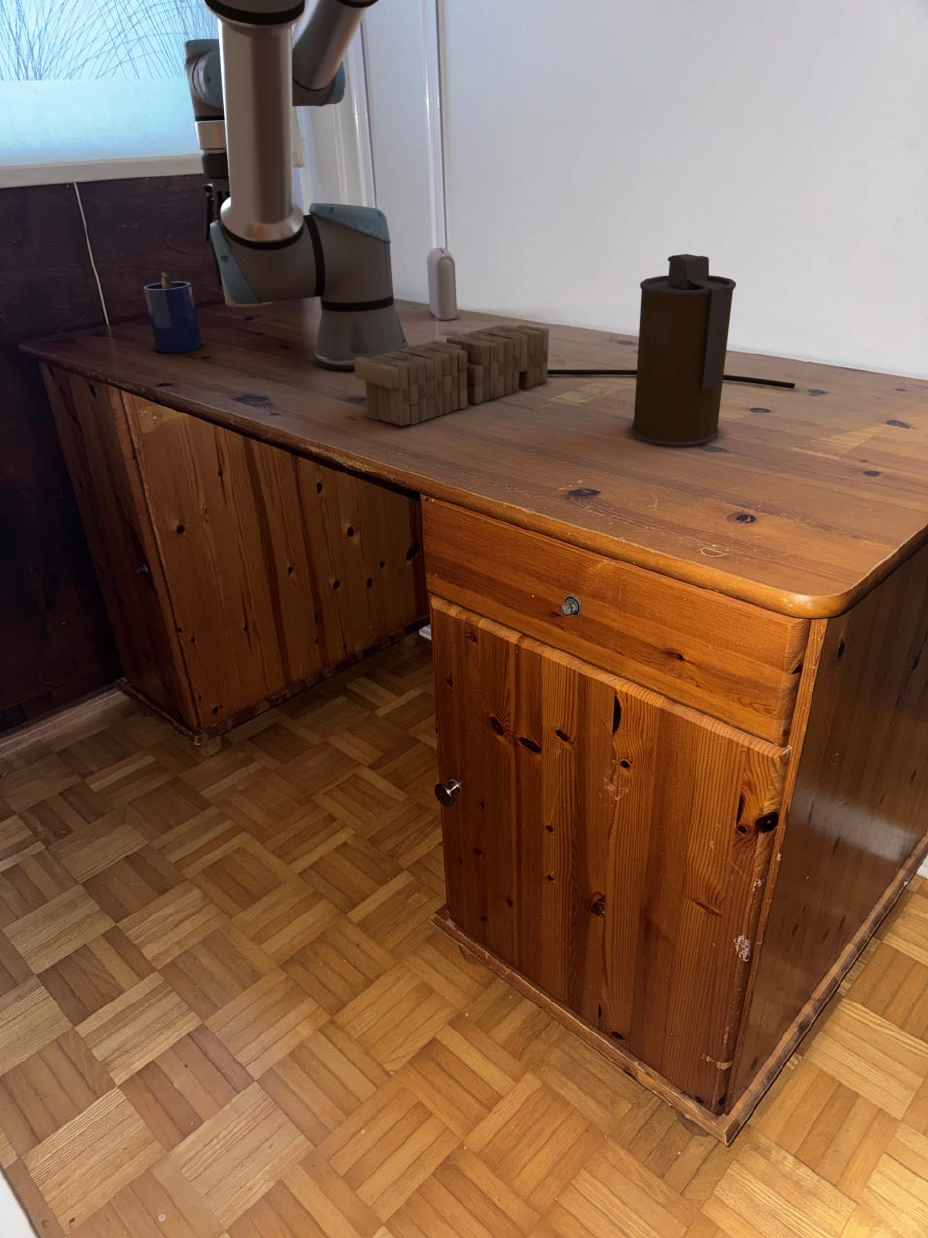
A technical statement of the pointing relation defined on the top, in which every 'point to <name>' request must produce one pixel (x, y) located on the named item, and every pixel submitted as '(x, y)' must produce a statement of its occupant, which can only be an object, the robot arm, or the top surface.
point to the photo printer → (442, 284)
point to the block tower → (453, 372)
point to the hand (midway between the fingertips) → (244, 288)
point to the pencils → (166, 281)
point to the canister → (681, 354)
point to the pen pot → (173, 317)
